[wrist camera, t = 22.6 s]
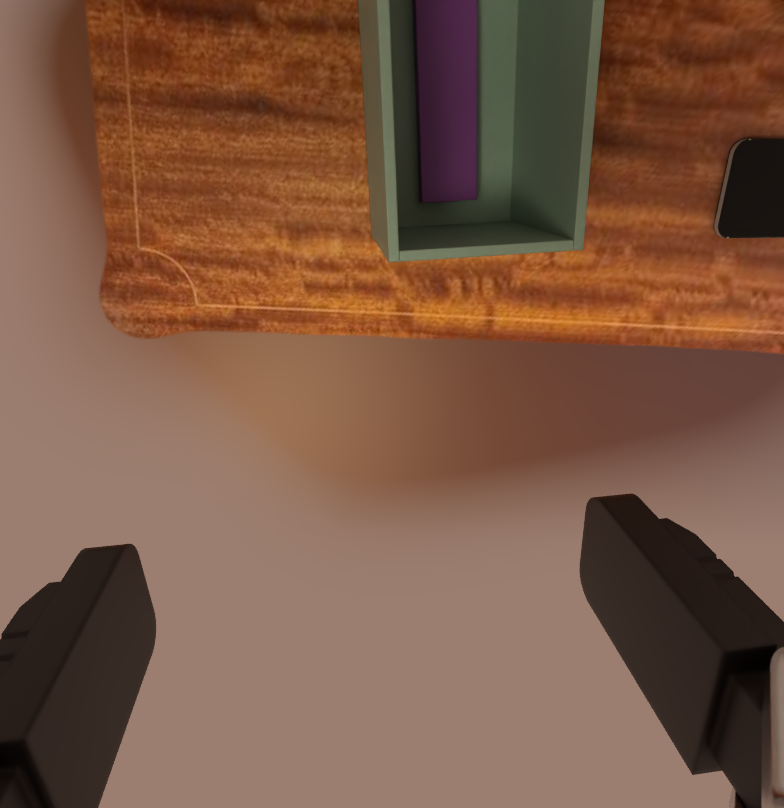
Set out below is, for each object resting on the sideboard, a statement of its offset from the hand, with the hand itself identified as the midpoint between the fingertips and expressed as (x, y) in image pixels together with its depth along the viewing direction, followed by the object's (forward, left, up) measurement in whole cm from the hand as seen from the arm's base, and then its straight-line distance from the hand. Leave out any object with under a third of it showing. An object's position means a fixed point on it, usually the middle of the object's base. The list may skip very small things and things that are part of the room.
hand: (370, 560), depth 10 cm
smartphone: (+38, +3, -36) cm, 52 cm away
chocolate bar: (+8, +14, -36) cm, 39 cm away
